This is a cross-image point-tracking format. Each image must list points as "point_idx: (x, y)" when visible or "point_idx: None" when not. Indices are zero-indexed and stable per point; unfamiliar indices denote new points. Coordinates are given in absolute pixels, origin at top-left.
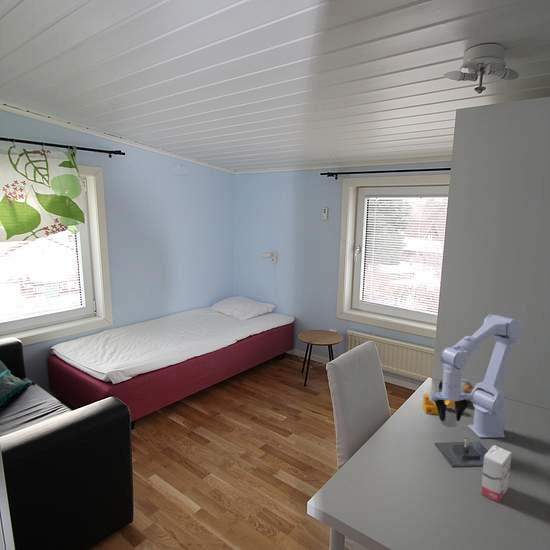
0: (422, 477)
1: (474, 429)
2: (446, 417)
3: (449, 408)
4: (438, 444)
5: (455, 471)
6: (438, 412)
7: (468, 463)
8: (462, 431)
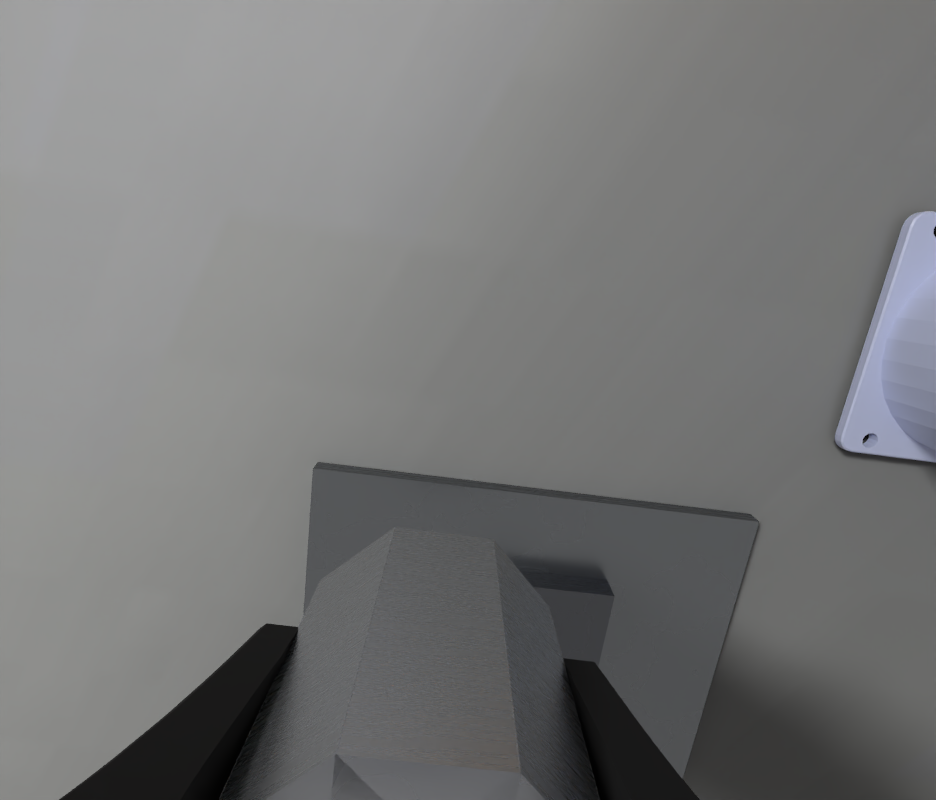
0: (23, 790)
1: (896, 335)
2: None
3: (479, 797)
4: (336, 499)
5: None
6: (184, 702)
7: None
8: (757, 301)
